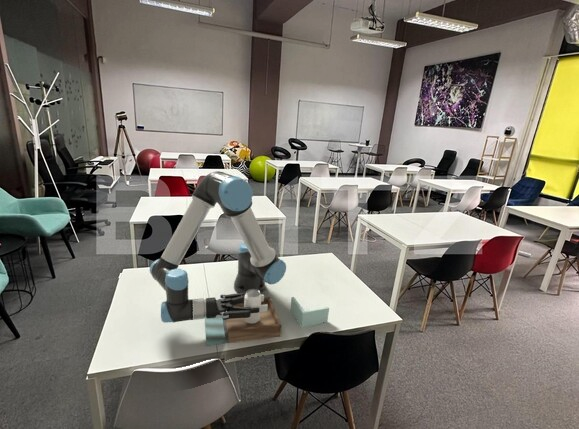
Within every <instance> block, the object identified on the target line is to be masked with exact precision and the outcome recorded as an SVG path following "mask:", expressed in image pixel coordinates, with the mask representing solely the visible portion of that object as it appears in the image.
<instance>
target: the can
mask: <svg viewBox="0 0 579 429" xmlns="http://www.w3.org/2000/svg"><path fill="white" fill-rule="evenodd" d="M261 295H262V293H260V291H259V290H257V289H249V290H247V291H246V294H245V299H243V300H244V307H251V306H255V305H261ZM246 315H247V314H246ZM244 320H245V321H246V322H247V323H250V324H254V323H257V322H258V321H259V320H260V312H258V313H251V316H250V317H249V318H244Z"/></svg>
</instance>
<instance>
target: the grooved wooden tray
mask: <svg viewBox="0 0 579 429" xmlns="http://www.w3.org/2000/svg"><path fill="white" fill-rule="evenodd" d="M264 304H267V305H268V308H267V311H266V312H260V320H259V321H258V322H257V323H254V324H250V323H247V322H246V321H245V320H244V318H234V319H227V320H223V316H222V315H216V318H209V319H207V318H206V317H205V318H204V329H205V330H204V332H205V345H206V346H205V347H208V346H217V345H223V344H224V345H225V344H231V343H233V344H234V343H240V342H247V341H256V340H262V339H263V340H265V339H271V338H278V337H279V338H280V337H281V335H282V324H281V321H280V318H279V315H278V314H277V311H276V308H275V306H274V304H273V301H272V298H271V297H269V296H268V297H264V301H262V302H261V305H264ZM233 306H240V307H244V302H243V303H240V304H236V305H233Z"/></svg>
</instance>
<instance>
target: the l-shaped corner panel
mask: <svg viewBox="0 0 579 429" xmlns="http://www.w3.org/2000/svg"><path fill="white" fill-rule="evenodd" d="M290 301H291V302H290V309H289V310H290V313H291V312H292V313H291V314H292V315H294V316H293V317H294V318H295V320H296V321H297V323H298V325H299V326H300V325H301V326H300V327H301V328H306V326H307V327H310V326H315V324H316V325H320V324H319V323H321V324H324V323H323V322H326V323H328V320H329V312H330V307H329V306H326V307H324V306H323V307H321V308H320V307H319V308H315V309H314V308H313V309H306V310H305V309H304V308H303V307H302V306H301V304H300V303H299V301H298V300H297V299H296V297H294V296H292V297H291V299H290Z"/></svg>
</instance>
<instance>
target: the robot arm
mask: <svg viewBox="0 0 579 429" xmlns="http://www.w3.org/2000/svg"><path fill="white" fill-rule="evenodd" d="M252 197H254V193H253V189H252V186H251V184H249V182H248V181H246V180H245V179H243V178H242V177H240V176H235V175H231V174H229V173H226V172H224V171H219V170H218V171H217V170H216V171H213V172H209V173H208V174H206V175H204V177H203V178H202V179H201V181H199V183H198V184H197V186H196V188H195V189H194V190H193V193H192V194H191V199H192V200H191V202H190V204H189V205H188V207H187V209H186V211H185V213H184V215H183V216H182V218H181V220H180V222H179V223H178V225H177V228H176V229H175V231H174V232H173V234H172V236H171V238H170V240H169V242H168V243H167V246H166V247H165V249H164V251H163V253H162V255H161V256H160V258H158V259H156V260H154V261H153V262H152V263H151V264H150V266H149V273H150V274H151V275H150V276H152V278H153V279H154V281H156V282H157V283H158V284H159V286H160V287H161V288H162V289H163V290H164V291H165V296H166V301H162V302H161V304H160V319H161V322H162V323H172V324H173V323H179V322H184V321H197V320H205V317H206V318H207V319H209V318H216V315H222V316H223V320H227V319H234V318H249V317H250V316H251V313H258V312H266V311H267V308H268V305H267V304H264V305H255V306H251V307H240V306H233V305H236V304H240V303H243V302H244V299H245V294H246V291H247V290H249V289H257V290H259V291H260V294H261V302H262V301H264V298H265V295H264V294H262V293H263V292H264V290H266V289H265V288H266V284H269V285H275V284H278V283H279V282H280V281H281V280H282V279H283V278H284V276H285V273H286V272H287V264H286V262H285V261H284V260H283V259H281V258H279V256H278V254H277V252H276V250H275V249H274V247H271V246H270V245H269V243H268V242H267V239H266V237H265V234H264V232H263V230H262V229H261V226H260V225H259V222H258V220H257V218H256V216H255V214H254V212H253V210H252V205H253V199H252ZM216 204H218V205H219V207H220V210H222V212H223V214H224V215H225V217H227V218H231V221H232V222H233V225H234V226H235V228H236V230H237V231H238V234H239V236H240V238H241V240H242V243H241V244H239V246H238V251H237V254H238V259H237V260H238V262H237V264H238V265H237V274H236V277H235V279H234V282H233V289H234V291H235V292H236V293H231V294H220V298H219V299H217V298H216V297H206V298H204V297H201V298H191V299H189V283H190V282H189V277H188V276H189V274H188V272H187V270H185V269H181V268H179V265H181V262H182V260H183V259H184V258H185V255H186V254H187V251H188V250H189V248H190V246H191V244H192V242H193V240H194V239H195V237H196V236H197V233H198V231H199V230H200V228H201V226H202V224H203V222H204V221H205V219H206V217H207V215H208V213H209V211H210V210H211V209H213V208H215V206H216ZM246 314H247V315H246Z"/></svg>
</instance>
